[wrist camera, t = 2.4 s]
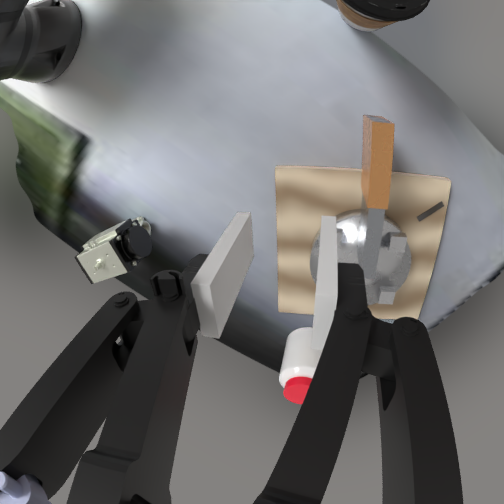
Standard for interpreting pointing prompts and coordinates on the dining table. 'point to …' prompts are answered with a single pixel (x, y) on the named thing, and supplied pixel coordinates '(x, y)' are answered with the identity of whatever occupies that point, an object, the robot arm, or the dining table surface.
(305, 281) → the light wood square board
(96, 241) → the pneumatic valve
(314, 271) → the silver saucepan
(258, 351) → the dining table surface
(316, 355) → the pill bottle
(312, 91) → the dining table surface
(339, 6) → the coffee cup
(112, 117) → the dining table surface
